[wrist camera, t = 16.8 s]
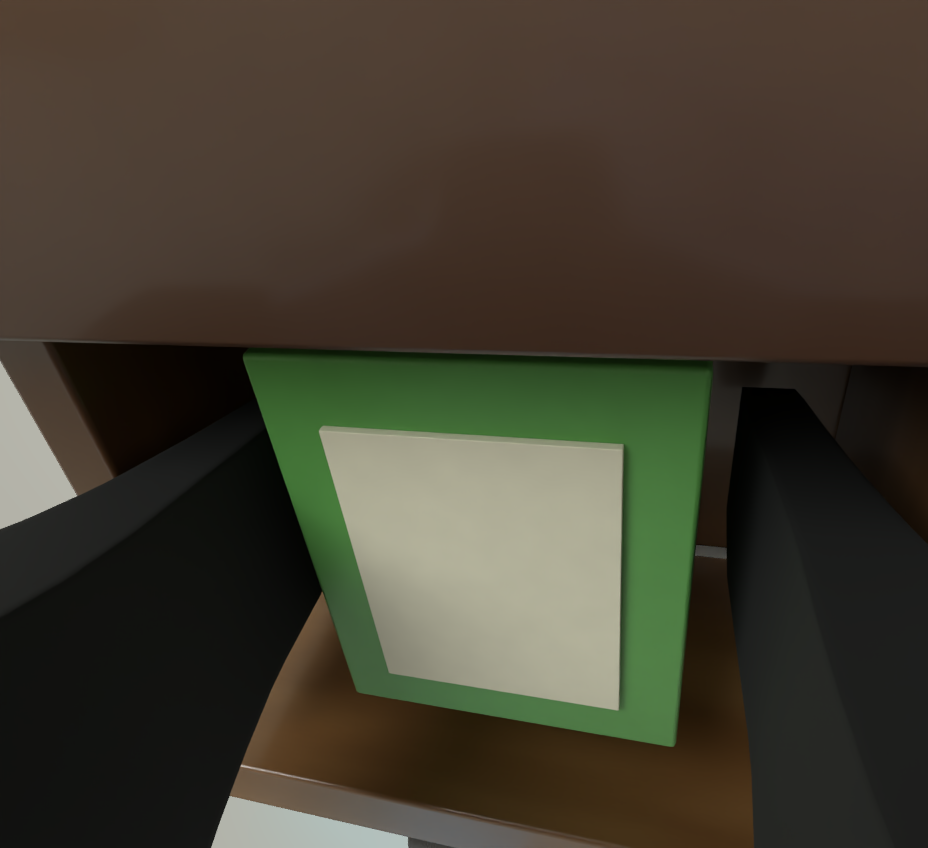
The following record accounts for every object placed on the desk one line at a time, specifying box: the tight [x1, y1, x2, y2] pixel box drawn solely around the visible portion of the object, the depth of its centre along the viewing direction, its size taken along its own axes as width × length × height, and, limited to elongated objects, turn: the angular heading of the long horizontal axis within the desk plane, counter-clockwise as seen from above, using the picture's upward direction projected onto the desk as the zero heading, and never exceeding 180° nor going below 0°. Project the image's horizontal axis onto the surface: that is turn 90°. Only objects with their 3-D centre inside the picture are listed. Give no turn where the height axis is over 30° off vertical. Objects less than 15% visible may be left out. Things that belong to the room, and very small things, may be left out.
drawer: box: [0, 340, 928, 848], centre depth 11 cm, size 18×11×6 cm, turn 6°
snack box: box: [243, 348, 713, 747], centre depth 9 cm, size 4×6×4 cm
